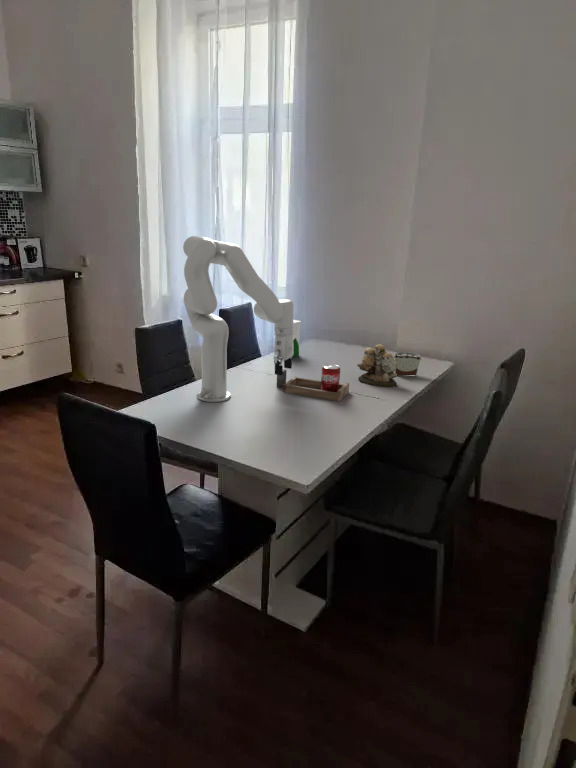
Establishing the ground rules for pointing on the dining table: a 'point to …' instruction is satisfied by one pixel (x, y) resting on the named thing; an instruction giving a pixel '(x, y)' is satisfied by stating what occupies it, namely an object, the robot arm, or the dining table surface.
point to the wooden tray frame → (291, 388)
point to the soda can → (330, 377)
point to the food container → (407, 363)
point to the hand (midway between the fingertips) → (283, 371)
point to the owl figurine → (378, 367)
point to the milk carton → (296, 337)
